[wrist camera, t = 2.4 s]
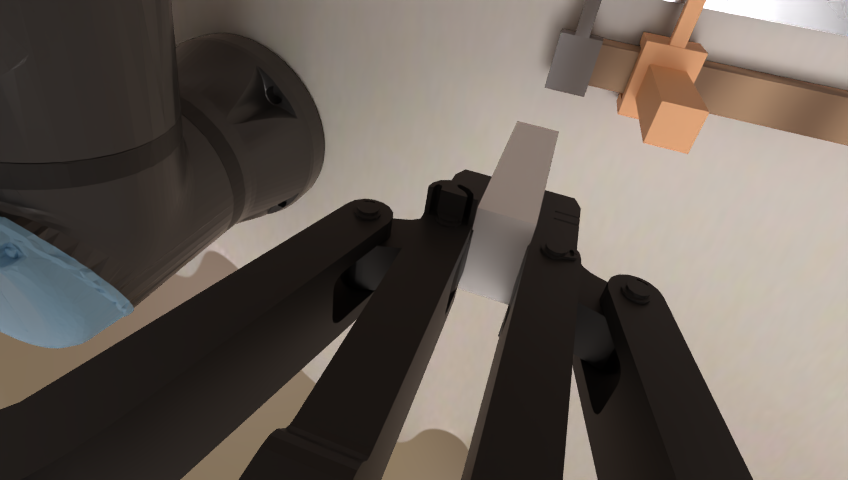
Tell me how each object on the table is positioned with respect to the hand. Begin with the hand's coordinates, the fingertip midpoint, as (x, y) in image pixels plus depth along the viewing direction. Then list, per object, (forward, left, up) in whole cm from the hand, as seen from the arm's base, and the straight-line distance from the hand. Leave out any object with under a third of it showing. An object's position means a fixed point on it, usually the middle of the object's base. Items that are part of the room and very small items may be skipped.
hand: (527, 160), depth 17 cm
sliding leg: (+6, +3, -16) cm, 17 cm away
